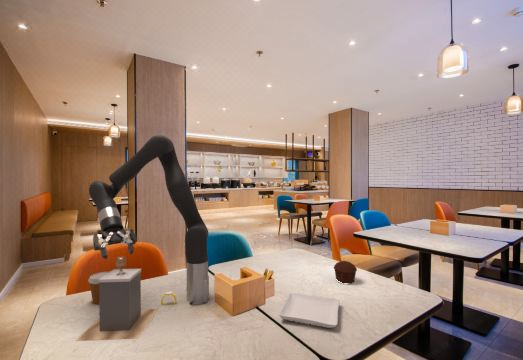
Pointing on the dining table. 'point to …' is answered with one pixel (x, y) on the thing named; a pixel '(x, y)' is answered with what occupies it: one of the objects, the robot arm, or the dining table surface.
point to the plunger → (121, 263)
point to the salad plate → (311, 310)
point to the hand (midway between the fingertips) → (119, 255)
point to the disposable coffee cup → (95, 286)
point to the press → (119, 299)
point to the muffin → (345, 272)
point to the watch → (168, 294)
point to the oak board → (133, 333)
